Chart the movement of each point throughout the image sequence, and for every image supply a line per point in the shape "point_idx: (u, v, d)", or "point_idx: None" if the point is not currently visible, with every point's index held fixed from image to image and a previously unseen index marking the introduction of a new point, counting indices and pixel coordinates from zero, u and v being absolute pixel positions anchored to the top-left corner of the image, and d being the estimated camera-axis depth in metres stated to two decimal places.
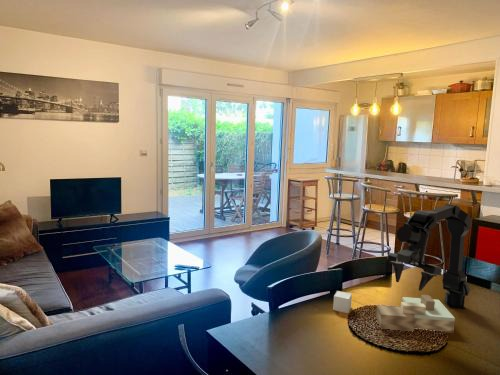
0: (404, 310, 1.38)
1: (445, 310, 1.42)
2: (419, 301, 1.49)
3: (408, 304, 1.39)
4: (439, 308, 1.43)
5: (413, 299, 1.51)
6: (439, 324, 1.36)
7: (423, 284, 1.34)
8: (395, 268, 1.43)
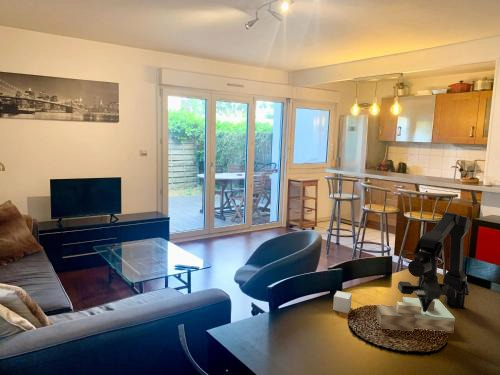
0: (400, 310, 1.38)
1: (445, 310, 1.42)
2: (419, 301, 1.49)
3: (404, 304, 1.39)
4: (439, 308, 1.43)
5: (413, 299, 1.51)
6: (439, 324, 1.36)
7: None
8: (423, 300, 1.37)
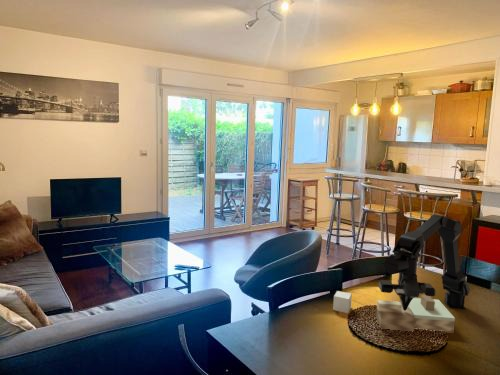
0: (380, 308, 1.39)
1: (445, 310, 1.42)
2: (419, 301, 1.49)
3: (384, 302, 1.40)
4: (439, 308, 1.43)
5: (413, 299, 1.51)
6: (439, 324, 1.36)
7: None
8: (403, 298, 1.37)
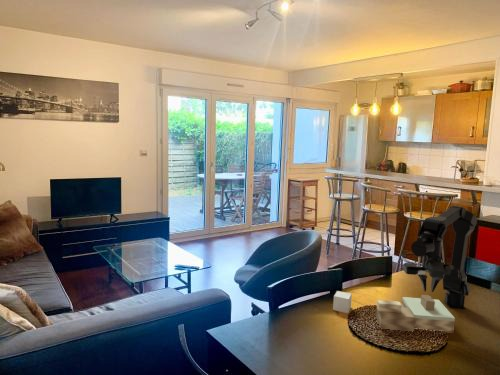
0: (380, 308, 1.39)
1: (445, 310, 1.42)
2: (419, 301, 1.49)
3: (384, 302, 1.40)
4: (439, 308, 1.43)
5: (413, 299, 1.51)
6: (439, 324, 1.36)
7: None
8: (424, 280, 1.42)
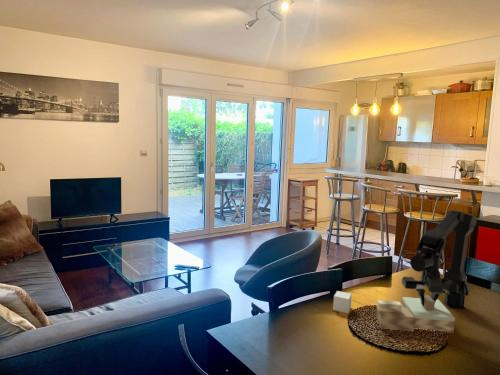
0: (380, 308, 1.39)
1: (445, 310, 1.42)
2: (419, 301, 1.49)
3: (384, 302, 1.40)
4: (439, 308, 1.43)
5: (413, 299, 1.51)
6: (439, 324, 1.36)
7: None
8: (422, 294, 1.42)
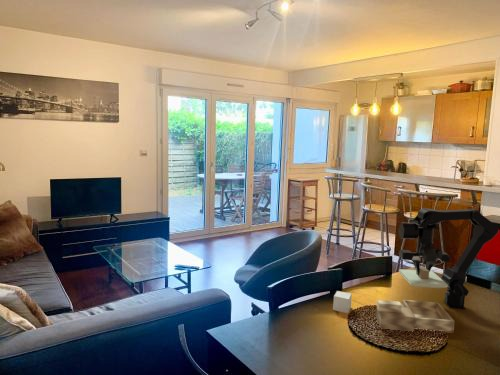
0: (380, 308, 1.39)
1: (438, 279, 1.56)
2: (414, 272, 1.63)
3: (384, 302, 1.40)
4: (433, 277, 1.57)
5: (409, 271, 1.65)
6: (439, 324, 1.36)
7: None
8: (417, 264, 1.56)
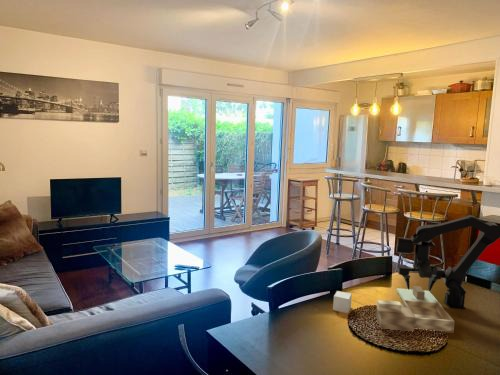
0: (380, 308, 1.39)
1: (434, 299, 1.61)
2: (411, 292, 1.69)
3: (384, 302, 1.40)
4: (429, 297, 1.63)
5: (406, 290, 1.71)
6: (439, 324, 1.36)
7: None
8: (407, 279, 1.62)
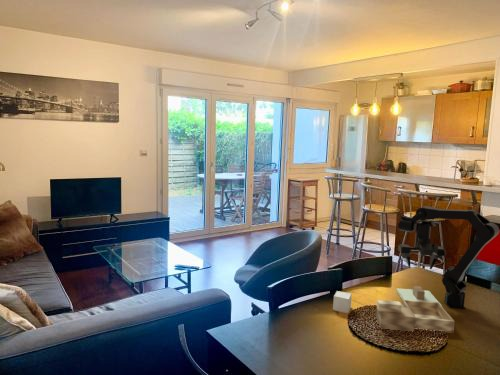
0: (380, 308, 1.39)
1: (434, 299, 1.61)
2: (411, 292, 1.69)
3: (384, 302, 1.40)
4: (428, 297, 1.63)
5: (406, 290, 1.71)
6: (439, 324, 1.36)
7: None
8: (408, 258, 1.68)
